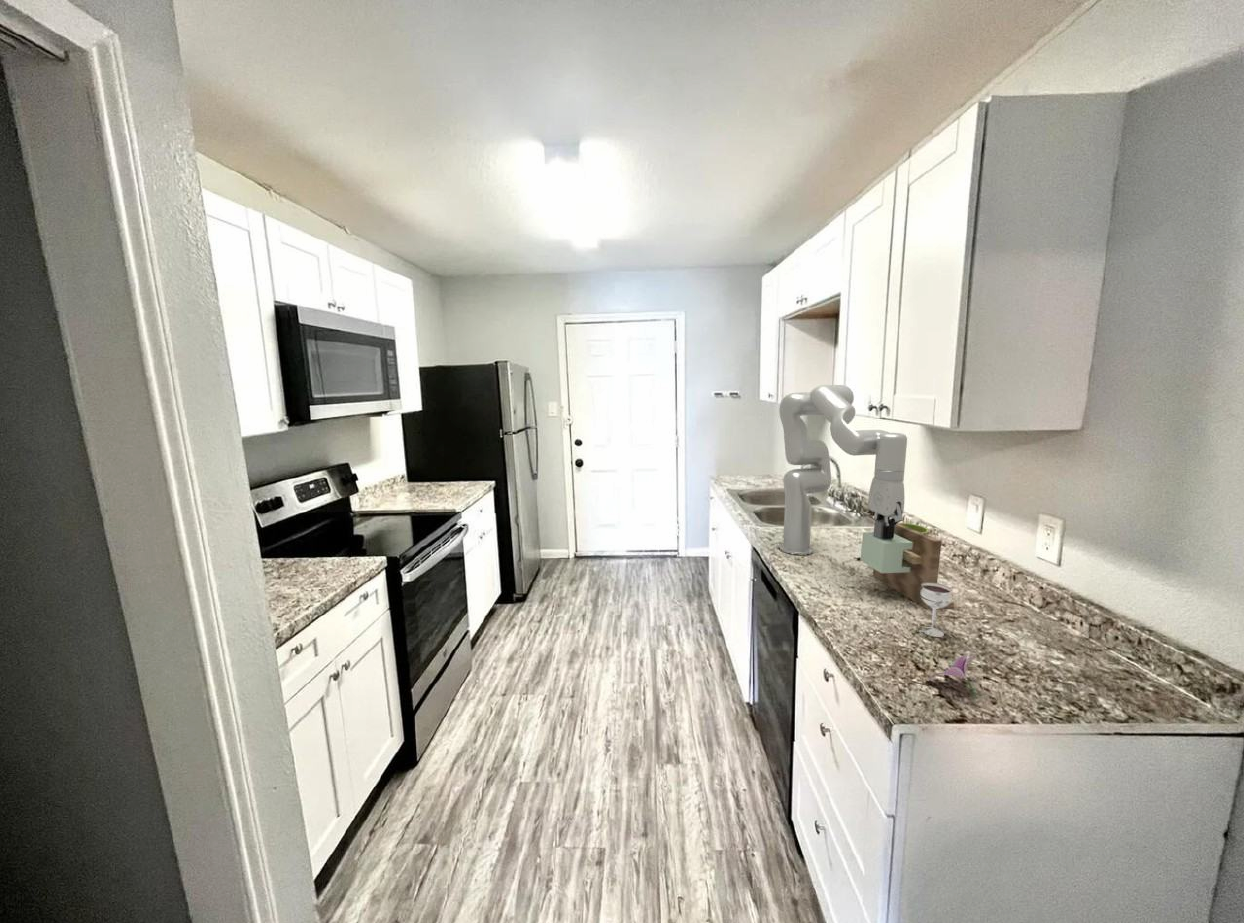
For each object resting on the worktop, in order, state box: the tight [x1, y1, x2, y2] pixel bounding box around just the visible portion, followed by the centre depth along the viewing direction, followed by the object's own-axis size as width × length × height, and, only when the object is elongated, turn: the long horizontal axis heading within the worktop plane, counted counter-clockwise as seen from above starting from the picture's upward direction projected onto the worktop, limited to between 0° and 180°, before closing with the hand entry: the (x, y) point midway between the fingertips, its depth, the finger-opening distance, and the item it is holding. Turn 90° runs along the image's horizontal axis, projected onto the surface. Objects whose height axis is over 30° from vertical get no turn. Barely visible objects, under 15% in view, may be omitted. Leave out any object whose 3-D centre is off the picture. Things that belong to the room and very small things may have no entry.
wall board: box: [872, 522, 955, 610], centre depth 142 cm, size 24×10×20 cm, turn 7°
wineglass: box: [920, 582, 953, 638], centre depth 118 cm, size 7×7×12 cm
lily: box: [924, 650, 984, 699], centre depth 96 cm, size 12×12×10 cm
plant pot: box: [898, 522, 929, 535], centre depth 170 cm, size 12×12×11 cm
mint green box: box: [859, 520, 913, 573], centre depth 139 cm, size 10×9×14 cm
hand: (883, 535), depth 138 cm, fingers closed on mint green box, 3 cm apart
